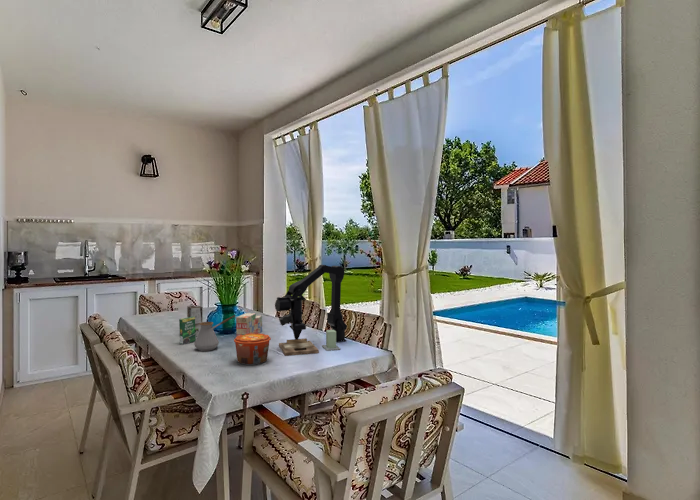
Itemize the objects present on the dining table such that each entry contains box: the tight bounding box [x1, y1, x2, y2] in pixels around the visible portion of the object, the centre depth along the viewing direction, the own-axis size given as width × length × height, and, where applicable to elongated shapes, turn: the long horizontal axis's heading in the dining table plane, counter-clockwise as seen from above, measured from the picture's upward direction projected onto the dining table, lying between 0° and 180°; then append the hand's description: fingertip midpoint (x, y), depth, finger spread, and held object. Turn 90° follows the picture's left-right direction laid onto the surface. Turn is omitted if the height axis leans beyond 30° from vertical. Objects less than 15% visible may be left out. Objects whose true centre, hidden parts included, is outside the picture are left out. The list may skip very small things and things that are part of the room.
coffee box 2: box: [178, 317, 197, 345], centre depth 222 cm, size 8×3×13 cm, turn 147°
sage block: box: [325, 329, 337, 348], centre depth 212 cm, size 4×4×8 cm
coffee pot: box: [193, 315, 237, 352], centre depth 213 cm, size 21×12×15 cm, turn 131°
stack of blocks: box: [235, 312, 263, 338], centre depth 240 cm, size 21×6×12 cm, turn 170°
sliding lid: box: [281, 337, 315, 349], centre depth 210 cm, size 14×9×3 cm, turn 108°
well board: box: [278, 340, 320, 357], centre depth 209 cm, size 16×19×2 cm
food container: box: [233, 332, 272, 366], centre depth 190 cm, size 16×16×11 cm
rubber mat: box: [321, 344, 341, 352], centre depth 212 cm, size 7×9×1 cm
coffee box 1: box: [186, 304, 203, 336], centre depth 239 cm, size 9×6×16 cm
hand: (296, 340), depth 214 cm, fingers closed
